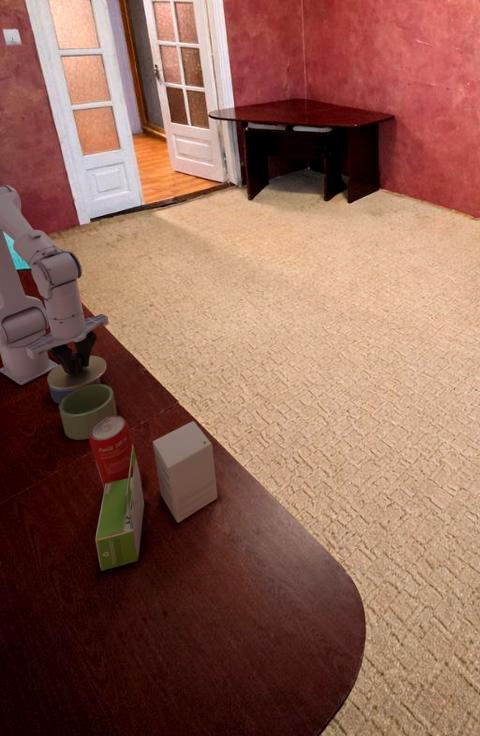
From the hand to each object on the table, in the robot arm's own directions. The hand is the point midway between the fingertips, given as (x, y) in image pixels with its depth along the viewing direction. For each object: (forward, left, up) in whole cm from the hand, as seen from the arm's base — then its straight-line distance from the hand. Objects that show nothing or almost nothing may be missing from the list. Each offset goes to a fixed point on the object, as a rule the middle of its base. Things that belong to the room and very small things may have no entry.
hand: (76, 368), depth 99 cm
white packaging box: (+36, -3, -11) cm, 37 cm away
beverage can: (+25, -8, -11) cm, 28 cm away
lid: (0, 0, -1) cm, 1 cm away
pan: (-7, +2, -10) cm, 13 cm away
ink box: (+33, -13, -11) cm, 37 cm away
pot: (+5, -2, -10) cm, 11 cm away
